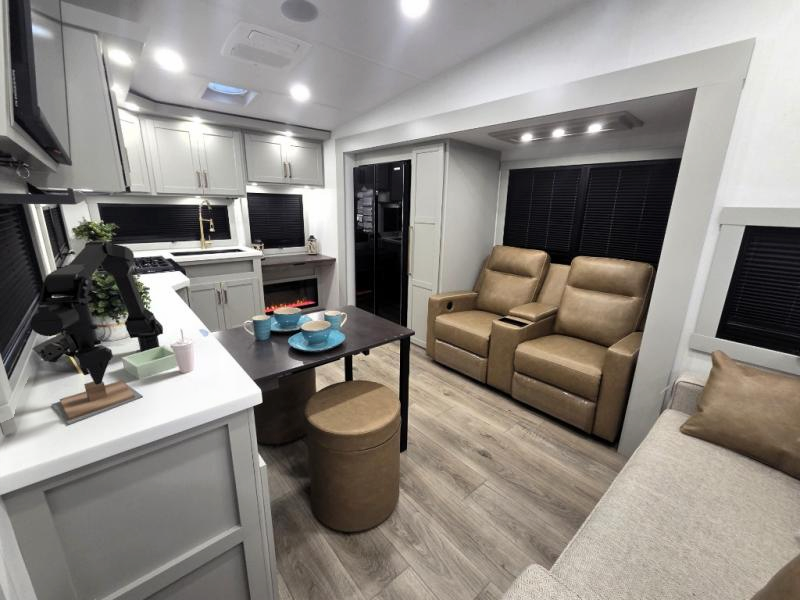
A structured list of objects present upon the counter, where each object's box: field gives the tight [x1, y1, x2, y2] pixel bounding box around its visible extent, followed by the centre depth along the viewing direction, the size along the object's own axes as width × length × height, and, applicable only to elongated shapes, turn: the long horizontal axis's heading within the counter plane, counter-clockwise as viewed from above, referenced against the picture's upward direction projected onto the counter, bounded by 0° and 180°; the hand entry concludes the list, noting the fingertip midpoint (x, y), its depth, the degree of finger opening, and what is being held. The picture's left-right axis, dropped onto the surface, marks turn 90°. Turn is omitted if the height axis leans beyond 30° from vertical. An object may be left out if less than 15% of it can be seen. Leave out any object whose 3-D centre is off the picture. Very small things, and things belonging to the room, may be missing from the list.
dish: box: [121, 345, 179, 380], centre depth 109 cm, size 12×12×4 cm
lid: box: [59, 380, 135, 420], centre depth 89 cm, size 13×13×5 cm
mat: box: [51, 380, 144, 426], centre depth 90 cm, size 15×15×1 cm
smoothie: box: [169, 328, 195, 374], centre depth 106 cm, size 6×6×14 cm
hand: (92, 379), depth 88 cm, fingers open, 9 cm apart
